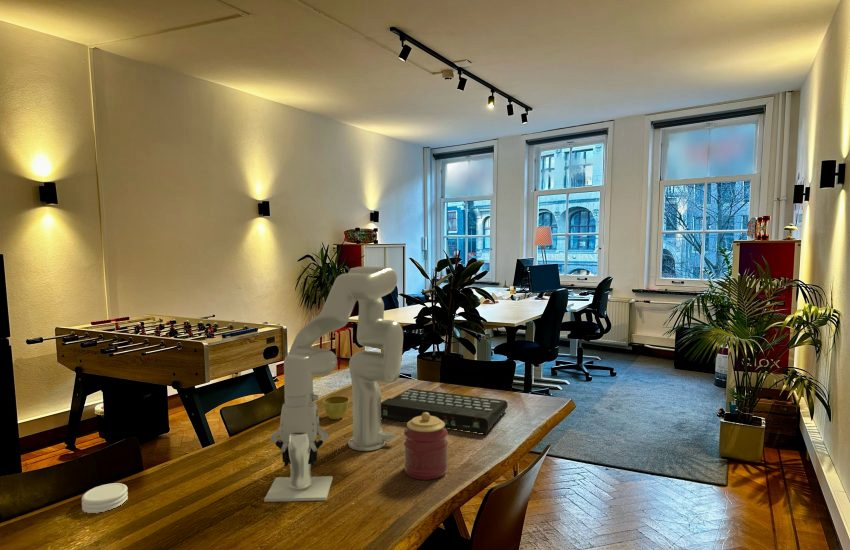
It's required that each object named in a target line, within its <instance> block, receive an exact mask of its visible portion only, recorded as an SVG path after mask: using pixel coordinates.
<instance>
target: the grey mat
mask: <svg viewBox="0 0 850 550" xmlns="http://www.w3.org/2000/svg"><path fill="white" fill-rule="evenodd" d="M311 477H312V484H311V485H310V486H309V487H306V488H303V489H294V488H291V487H290V485H289V483H290V476H283V477H278V476H277V477H275V479H274V480H273V483H272V484H271V486H270V488H269V489H268V491H267V493H266V495H265V497H264V498H263V500H264V501H263V502H264V503H267V502H268V503H269V502H305V501H306V502H310V501H327V498H328V495H329V492H330V488H331V485H332V482H333V476H332V475H329V476H322V475H321V476H311Z"/></svg>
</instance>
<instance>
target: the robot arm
mask: <svg viewBox="0 0 850 550" xmlns="http://www.w3.org/2000/svg"><path fill="white" fill-rule="evenodd" d="M397 282H398V275H397V273H396V271H395V270H394V269H393V268H391V267H388V266H356V267H352V268H351V269H349V271H348V272H346V273H341V274H339V275H338V276H337V277H336V278H335V280H334V281H333V284H332V286H331V288H330V291H329V293H328V295H327V298H326V299H325V300H326V301H325V303H324V304H323V307H322V309H321V311H320V312H319V314H318V315H316V316H315V317H313V318H312V319H311V320H310V321H309V322H307V324H305V325H304V326H303V327H302V328H301V329H300V330H299V331H298V332H297V334H296V336H295V337H294V340H293V342H292V344H291V346H290V349H289V352H288V355H286V356H285V358H284V359H283V374H284V376H283V382H284V383H283V384H284V385H283V386H284V387H283V388H284V392H283V393H284V403H282V405H281V406H282V407H281V411H280V412H281V413H280V420H279V428H278V429H276V430H275V431H274V432H273V433H272V435H270V437H269V439H270V441H272V443H274V445H275V446H276V447H277V448H278V449H279V450H280V452H281V453H282V455H281V456H282V463H284V464H283V465H284V466H283V467H288V466H289V465H290V464H289V459H288V453H287V442H288V440H289V434H297V435H298V434H305V433H307V435H308V439H309V442H311V448H312V451H311V466H312V467H314V466H315V463H316V462H318V449H320V447H321V446H322V445H323V444H324V443H325V442H326V441H327V440H328V438H329V437H330V433H328V432H326V431H325V430H324V429H323V428H322V427H321V426H320V417H319V410H318V409H319V408H318V404H317V402H316V401H319V395H318V394H315V393H314V378H320V377H321V378H322V377H326V376H329V375H330V374H332V373H333V372H334V371H335V370H336V368H337V365H338V358H337V355H336V354H335V353H334V352H333V351H331V350H330V349H326V348H317V347H312V346H313V345H314V344H315V342H316V341H317V340H319V339H320V338H321V337H323V336H325V335H327V334H330V333H332V332H334V331H337V330H339V329H340V330H341V329H342V328H344V327H346V326H347V324H348V322H349V320H350V317H351V315H352V312H353V310H354V307H355V305H356V303H357V301H358V316H357V317H358V319H357V329H356V341H357V343H358V345H360V346H362V347H367V348H375V349H382V350H383V352H378V351H372V350H359V351H357V352H355V353H353V354H352V356H351V357H350V358H349V363H348V368H349V369H348V370H349V374H350V379H351V388H352V390H351V391H352V437H350V438H349V439H348V442H347V443H348V447H349V448H350V449H352V450H355V451H359V452H360V451H361V452H371V451H377V450H379V449H381V448H384V446H385V445H386V442H387V441H386V440H395V433H392V431H385V430H383V427H382V419H381V402H382V392H381V387H380V385H379V384H378V382H380V383H388V384H390V383H395V382H396V381H397V380H398V379H399V377H400V374H401V370H402V360H403V359H402V357H403V347H404V346H403V345H404V329H403V328H402V325H401V324H400V322H398V321H397V320H396V321H395V320H391V319H385V317H384V316H385V315H384V314H385V303H384V300H383V298H382V297H385V296H387V295H389V294H392V292H393V291H394V290H395V288H396V286H397ZM319 435H320V436H321V438H320V439H318V436H319ZM317 439H318V440H317Z"/></svg>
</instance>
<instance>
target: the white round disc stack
mask: <svg viewBox="0 0 850 550" xmlns="http://www.w3.org/2000/svg"><path fill="white" fill-rule="evenodd" d="M128 495H129V492H128V486H127V485H126V484H124V483H120V482H119V483H118V482H114V483H112V482H111V483H107V484H101V485H99V486H95V487H93V488H91V489H88V490H87V491H86V492H84V494H83V495H82V497H81V510H82V512H84V513H86V512H87V513H86V514H90V513H96V514H100V513H99V512H103V513H106V512H105V511H107V510H111V509H113V508H116V507H118V506H120V505H121V506H123V505H124V504H125V503H126V502H127V501H128V500H129V496H128ZM126 500H127V501H126ZM125 501H126V502H125ZM124 502H125V503H124ZM123 503H124V504H123ZM122 504H123V505H122ZM121 506H120V507H121ZM118 508H119V507H118ZM116 509H117V508H116ZM113 510H114V509H113ZM111 511H112V510H111ZM107 512H108V511H107Z"/></svg>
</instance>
